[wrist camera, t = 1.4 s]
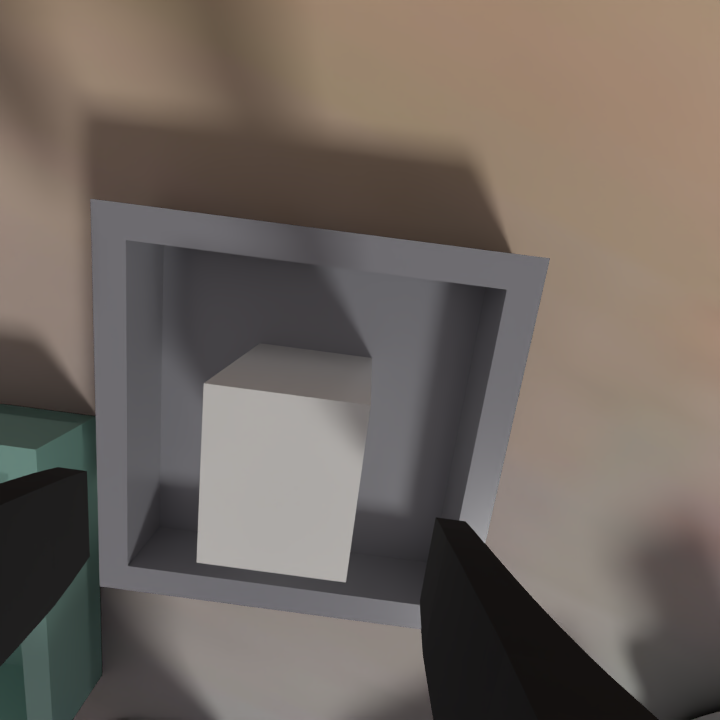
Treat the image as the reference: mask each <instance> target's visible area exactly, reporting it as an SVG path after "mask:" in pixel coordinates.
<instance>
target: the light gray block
mask: <svg viewBox="0 0 720 720" xmlns="http://www.w3.org/2000/svg"><path fill="white" fill-rule="evenodd" d="M371 376H372V358H369V357H361V356H354V355H346V354H338V353H331V352H323V351H315V350H308V349H300V348H293V347H285V346H277V345H270V344H262V343H260V344H258V345H257V346H256V347H254V348H253V349H251V350H250V351H248V352H247V353H246V354H244V355H243V356H241V357H240V358H239V359H237V360H236V361H234V362H233V363H232V364H230V365H229V366H227V367H226V368H225V369H223V370H222V371H220V372H219V373H218V374H216V375H215V376H213V377H212V378H210V379H209V380H208V381H206V382H205V383H204V388H203V413H202V438H201V463H200V488H199V513H198V538H197V562H196V563H203V564H211V565H218V566H226V567H233V568H241V569H248V570H256V571H263V572H271V573H278V574H286V575H293V576H301V577H308V578H316V579H323V580H331V581H338V582H346V578H347V571H348V564H349V557H350V550H351V543H352V536H353V528H354V521H355V514H356V507H357V500H358V493H359V486H360V478H361V471H362V464H363V457H364V450H365V443H366V436H367V428H368V421H369V414H370V407H371Z"/></svg>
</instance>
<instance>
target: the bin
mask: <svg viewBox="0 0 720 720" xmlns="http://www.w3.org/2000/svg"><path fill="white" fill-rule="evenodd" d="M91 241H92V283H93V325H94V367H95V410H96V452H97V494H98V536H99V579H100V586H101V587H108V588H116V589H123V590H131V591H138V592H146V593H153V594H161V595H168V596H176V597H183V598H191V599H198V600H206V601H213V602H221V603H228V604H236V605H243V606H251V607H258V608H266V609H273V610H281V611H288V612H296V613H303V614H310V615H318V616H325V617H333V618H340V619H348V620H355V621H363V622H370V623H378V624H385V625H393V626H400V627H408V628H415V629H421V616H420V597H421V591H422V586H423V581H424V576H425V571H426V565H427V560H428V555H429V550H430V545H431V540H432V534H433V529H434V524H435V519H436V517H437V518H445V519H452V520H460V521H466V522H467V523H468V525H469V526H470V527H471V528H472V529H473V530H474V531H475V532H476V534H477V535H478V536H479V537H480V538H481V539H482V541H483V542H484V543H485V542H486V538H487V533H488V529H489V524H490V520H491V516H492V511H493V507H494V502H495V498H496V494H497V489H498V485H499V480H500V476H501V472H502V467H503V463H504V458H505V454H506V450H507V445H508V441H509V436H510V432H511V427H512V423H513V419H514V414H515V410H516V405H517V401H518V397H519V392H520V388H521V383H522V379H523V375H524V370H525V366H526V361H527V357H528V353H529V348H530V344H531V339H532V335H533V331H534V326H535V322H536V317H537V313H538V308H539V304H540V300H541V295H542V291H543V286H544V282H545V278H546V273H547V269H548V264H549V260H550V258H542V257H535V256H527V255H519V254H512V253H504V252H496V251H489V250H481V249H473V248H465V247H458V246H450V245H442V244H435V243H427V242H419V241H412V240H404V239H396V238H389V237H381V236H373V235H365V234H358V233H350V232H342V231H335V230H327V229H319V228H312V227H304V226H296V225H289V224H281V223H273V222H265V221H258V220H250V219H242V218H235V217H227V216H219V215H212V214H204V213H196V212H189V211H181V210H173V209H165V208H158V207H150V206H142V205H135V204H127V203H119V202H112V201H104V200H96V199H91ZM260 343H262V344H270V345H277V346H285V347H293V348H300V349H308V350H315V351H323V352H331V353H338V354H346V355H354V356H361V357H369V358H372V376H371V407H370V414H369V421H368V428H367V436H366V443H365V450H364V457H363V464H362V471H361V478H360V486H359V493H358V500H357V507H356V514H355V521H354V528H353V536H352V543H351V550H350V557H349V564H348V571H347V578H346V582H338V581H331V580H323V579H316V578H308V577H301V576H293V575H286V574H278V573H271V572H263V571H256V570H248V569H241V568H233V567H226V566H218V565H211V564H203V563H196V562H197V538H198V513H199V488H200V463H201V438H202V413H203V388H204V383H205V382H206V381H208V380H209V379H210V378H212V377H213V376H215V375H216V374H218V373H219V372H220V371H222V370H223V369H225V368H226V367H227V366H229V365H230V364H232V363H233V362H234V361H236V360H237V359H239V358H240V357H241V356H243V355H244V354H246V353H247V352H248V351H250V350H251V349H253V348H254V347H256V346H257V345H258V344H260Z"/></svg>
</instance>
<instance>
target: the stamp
mask: <svg viewBox="0 0 720 720" xmlns="http://www.w3.org/2000/svg"><path fill="white" fill-rule="evenodd" d="M692 720H720V711H719V712H716V713H712V714H709V715H705V716H702V717H699V718H695V719H692Z"/></svg>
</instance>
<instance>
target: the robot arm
mask: <svg viewBox="0 0 720 720" xmlns="http://www.w3.org/2000/svg"><path fill="white" fill-rule="evenodd" d="M89 557H90V547H89V517H88V486H87V471H84V470H76V469H68V468H61V467H56V468H52V469H47V470H43V471H40V472H36V473H32V474H29V475H26V476H22V477H19V478H16V479H13V480H9V481H6V482H3V483H0V666H1V665H2V664H3V663H4V662H5V661H6V660H7V659H8V658H9V657H10V655H11V654H12V653H13V652H14V651H15V650H16V649H17V648H18V647H19V645H20V644H21V643H22V642H23V641H24V640H25V639H26V638H27V636H28V635H29V634H30V633H31V632H32V631H33V630H34V629H35V628H36V626H37V625H38V624H39V623H40V622H41V621H42V620H43V619H44V617H45V616H46V615H47V614H48V613H49V612H50V611H51V609H52V608H53V607H54V606H55V605H56V603H57V602H58V601H59V599H60V598H61V597H62V595H63V594H64V592H65V591H66V590H67V588H68V587H69V586H70V584H71V583H72V582H73V580H74V579H75V577H76V576H77V574H78V573H79V571H80V570H81V569H82V567H83V566H84V564H85V563H86V561H87V560H88V558H89ZM420 616H421V633H422V648H423V658H424V665H425V671H426V677H427V683H428V689H429V696H430V702H431V708H432V714H433V720H658V719H657V718H656V717H655V716H654V715H653V714H652V713H651V712H650V711H648V710H647V709H646V708H645V707H644V706H643V705H642V704H641V703H640V702H638V701H637V700H636V699H635V698H634V697H633V696H632V695H631V694H630V693H628V692H627V691H626V690H625V689H624V688H623V687H622V686H621V685H619V684H618V683H617V682H616V681H615V680H614V679H613V678H612V677H611V676H610V675H608V674H607V673H606V672H605V671H604V670H603V669H602V668H601V667H600V666H599V665H598V664H597V663H596V662H595V661H594V660H593V659H592V658H591V657H590V656H589V655H588V654H587V653H586V652H585V651H584V650H583V649H582V648H581V647H580V646H579V645H578V644H577V643H576V642H575V641H574V640H573V639H572V638H571V637H570V636H569V635H568V634H567V633H566V632H565V631H564V630H563V629H562V628H561V627H560V626H559V625H558V624H557V623H556V622H555V621H554V620H553V619H552V618H551V617H550V616H549V615H548V614H547V613H546V612H545V611H544V610H543V609H542V607H541V606H540V605H539V604H538V603H537V602H536V601H535V600H534V599H533V598H532V597H531V596H530V594H529V593H528V592H527V591H526V590H525V589H524V588H523V587H522V586H521V584H520V583H519V582H518V581H517V580H516V579H515V578H514V577H513V575H512V574H511V573H510V572H509V571H508V570H507V569H506V567H505V566H504V565H503V564H502V563H501V562H500V560H499V559H498V558H497V557H496V556H495V555H494V553H493V552H492V551H491V550H490V549H489V548H488V546H487V545H486V544H485V543H484V542H483V541H482V539H481V538H480V537H479V536H478V535H477V534H476V532H475V531H474V530H473V529H472V528H471V527H470V526H469V525H468V523H467V522H466V521H460V520H452V519H445V518H437V517H436V519H435V524H434V529H433V534H432V540H431V545H430V550H429V555H428V560H427V565H426V571H425V576H424V581H423V586H422V591H421V597H420Z"/></svg>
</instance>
